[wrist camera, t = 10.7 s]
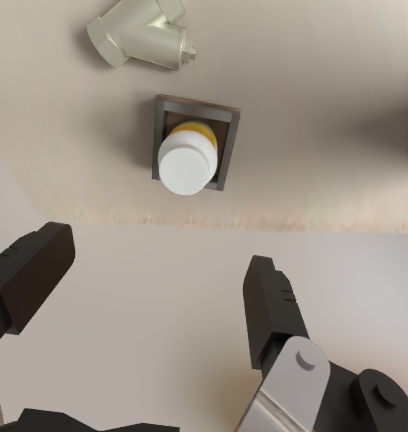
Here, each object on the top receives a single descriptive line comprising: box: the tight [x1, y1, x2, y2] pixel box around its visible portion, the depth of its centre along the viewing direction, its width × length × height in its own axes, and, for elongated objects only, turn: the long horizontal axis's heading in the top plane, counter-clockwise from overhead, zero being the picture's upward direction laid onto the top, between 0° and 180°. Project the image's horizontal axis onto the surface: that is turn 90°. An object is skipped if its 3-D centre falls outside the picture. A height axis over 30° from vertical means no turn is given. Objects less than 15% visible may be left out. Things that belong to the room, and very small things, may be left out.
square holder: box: [152, 94, 240, 191], centre depth 26 cm, size 9×9×3 cm
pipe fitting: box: [86, 0, 197, 71], centre depth 21 cm, size 8×4×7 cm
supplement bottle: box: [158, 119, 217, 195], centre depth 23 cm, size 5×5×10 cm
